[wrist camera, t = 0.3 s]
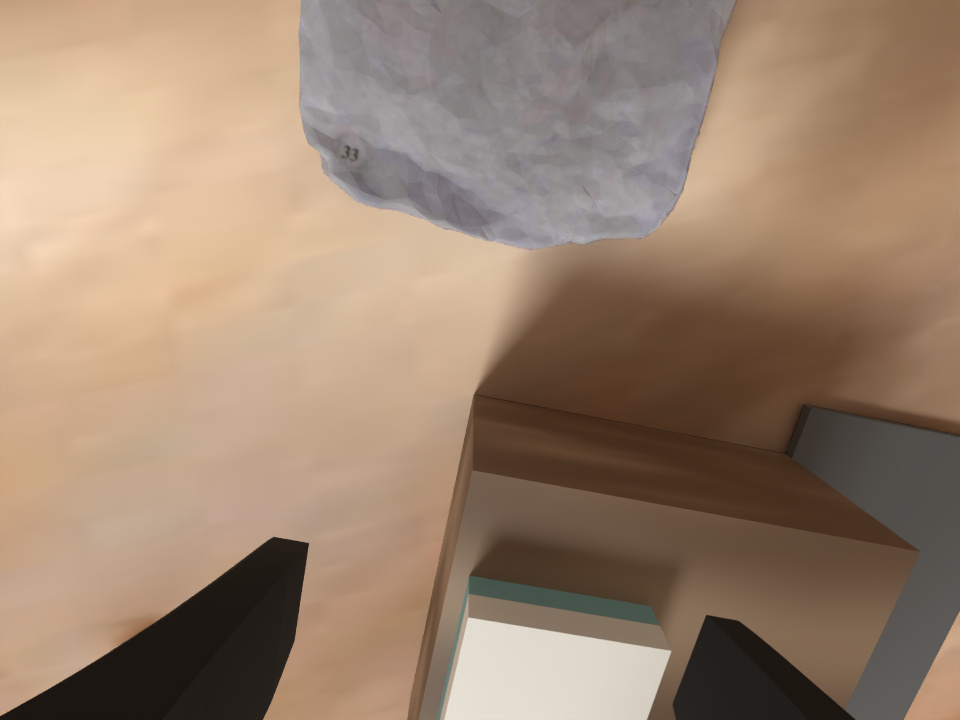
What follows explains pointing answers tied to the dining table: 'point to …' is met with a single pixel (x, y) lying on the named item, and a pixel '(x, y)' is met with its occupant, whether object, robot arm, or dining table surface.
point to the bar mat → (911, 515)
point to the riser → (663, 542)
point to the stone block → (511, 109)
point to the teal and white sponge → (551, 656)
